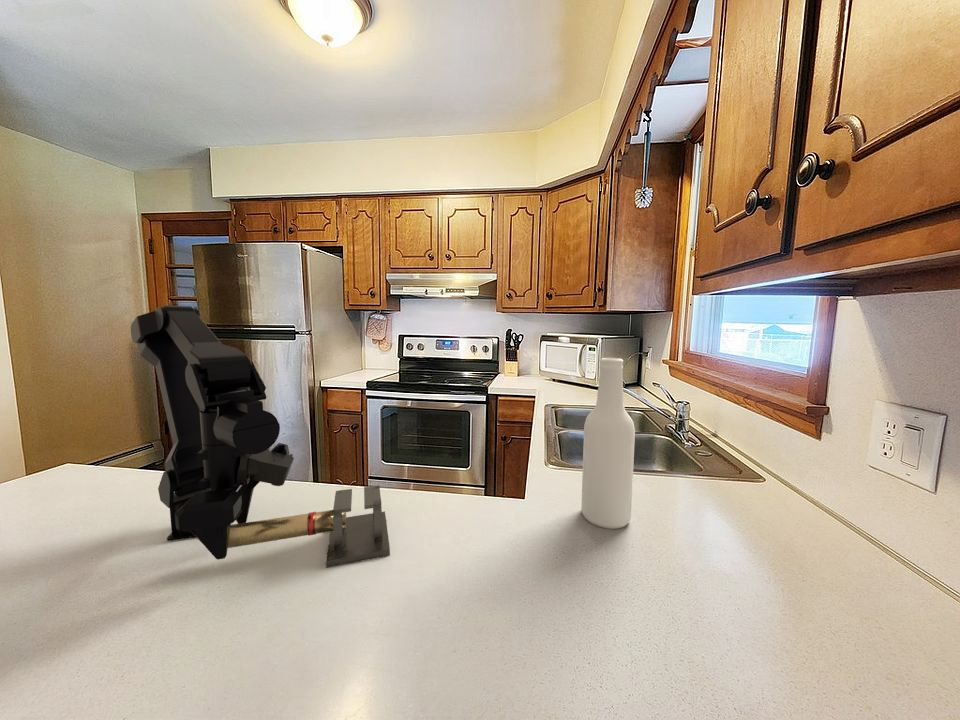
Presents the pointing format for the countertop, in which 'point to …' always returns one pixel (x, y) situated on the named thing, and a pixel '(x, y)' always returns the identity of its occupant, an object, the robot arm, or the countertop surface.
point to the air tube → (282, 528)
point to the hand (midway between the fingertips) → (232, 539)
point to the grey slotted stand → (358, 530)
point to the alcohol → (608, 453)
